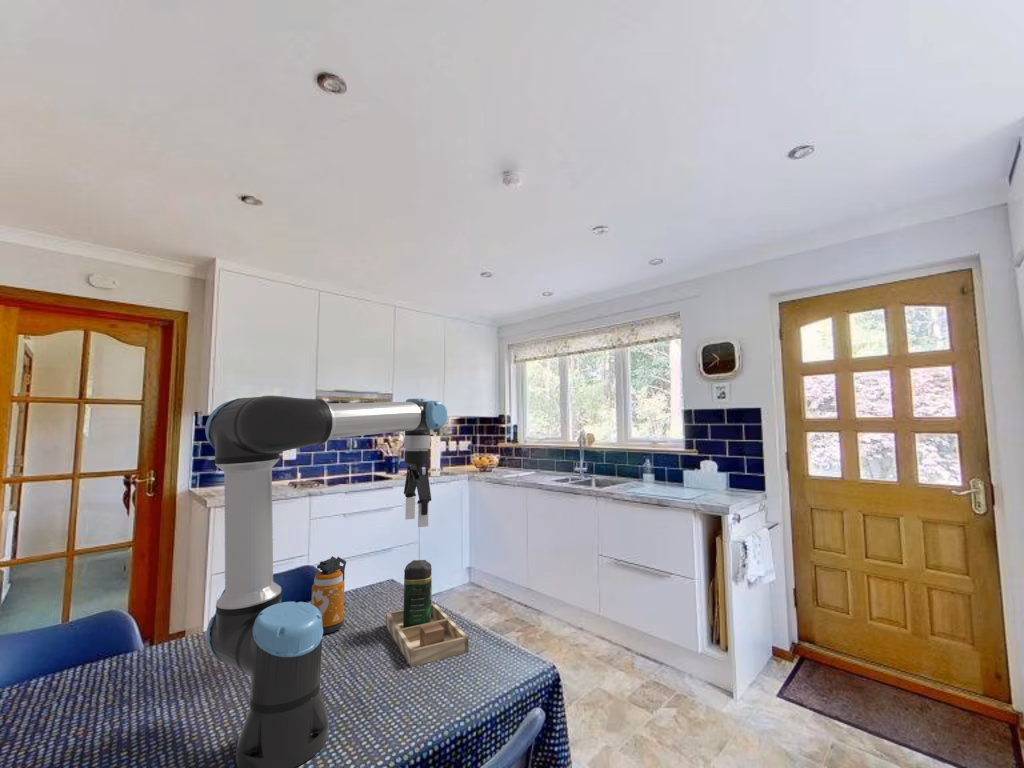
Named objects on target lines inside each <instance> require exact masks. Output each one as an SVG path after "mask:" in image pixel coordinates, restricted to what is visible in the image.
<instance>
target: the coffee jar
mask: <svg viewBox="0 0 1024 768" xmlns="http://www.w3.org/2000/svg"><path fill="white" fill-rule="evenodd" d="M403 573H404V575H403V576H404V577H403V609H404V614H403V628H407V627H411V626H416V625H420V624H425V623H429V622H431V604H432V593H433V592H432V588H433V587H432V584H433V583H432V582H433V581H432V579H433V578H432V577H433V576H432V573H433V572H432V564H431V563H430V562H429V561H427V560H426V559H417V560H416V559H413V560H412V561H410V562H408V563H407V564H406V566H405V568H404V571H403Z"/></svg>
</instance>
